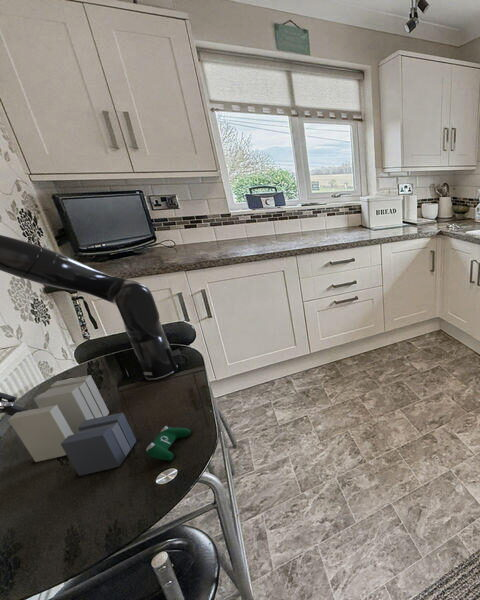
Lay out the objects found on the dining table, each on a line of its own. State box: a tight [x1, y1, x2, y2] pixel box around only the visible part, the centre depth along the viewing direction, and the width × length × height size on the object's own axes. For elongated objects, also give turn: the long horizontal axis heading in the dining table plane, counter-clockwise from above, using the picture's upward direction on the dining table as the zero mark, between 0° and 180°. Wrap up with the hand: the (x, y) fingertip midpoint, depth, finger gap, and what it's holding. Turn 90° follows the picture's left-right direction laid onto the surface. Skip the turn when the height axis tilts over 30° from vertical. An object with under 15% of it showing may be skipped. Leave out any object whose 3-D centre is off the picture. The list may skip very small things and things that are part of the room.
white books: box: [33, 374, 110, 434], centre depth 88 cm, size 8×8×13 cm
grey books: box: [61, 412, 137, 477], centre depth 77 cm, size 8×8×9 cm
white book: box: [7, 405, 74, 463], centre depth 78 cm, size 2×8×13 cm, turn 105°
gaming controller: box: [145, 425, 191, 461], centre depth 79 cm, size 9×4×6 cm
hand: (14, 427), depth 76 cm, fingers open, 8 cm apart
